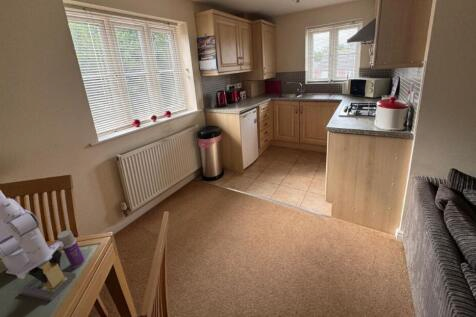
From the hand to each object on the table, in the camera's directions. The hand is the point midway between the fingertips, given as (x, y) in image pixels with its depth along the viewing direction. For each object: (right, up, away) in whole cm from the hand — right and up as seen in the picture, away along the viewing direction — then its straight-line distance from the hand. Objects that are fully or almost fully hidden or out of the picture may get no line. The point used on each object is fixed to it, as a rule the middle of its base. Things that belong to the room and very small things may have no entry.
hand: (51, 276), depth 84 cm
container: (+2, -1, +12) cm, 12 cm away
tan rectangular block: (0, -3, +1) cm, 3 cm away
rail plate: (-3, -5, +3) cm, 6 cm away
